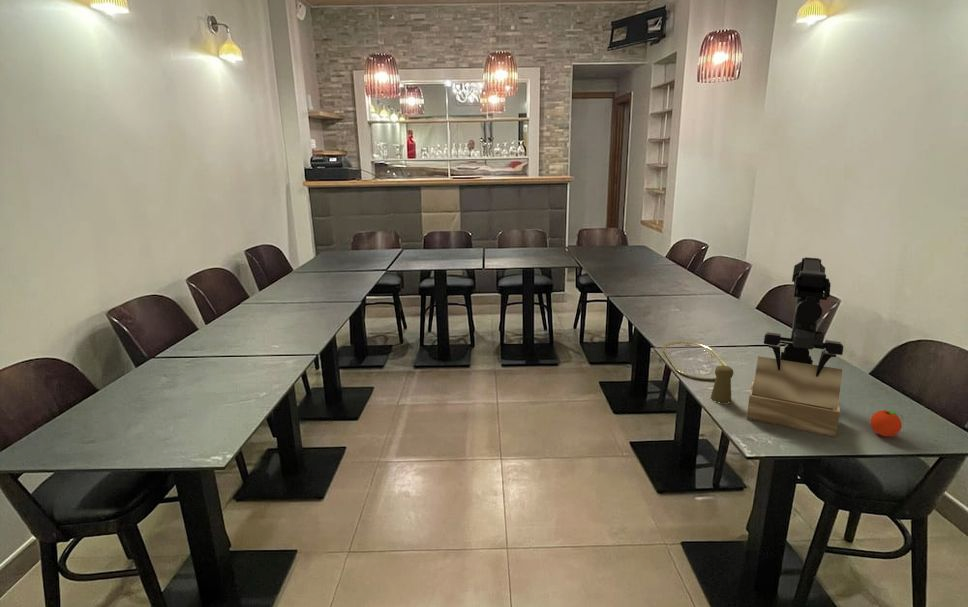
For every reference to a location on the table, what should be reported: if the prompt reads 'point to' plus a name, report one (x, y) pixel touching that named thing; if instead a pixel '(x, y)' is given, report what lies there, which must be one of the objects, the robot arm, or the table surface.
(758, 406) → the kraft carton
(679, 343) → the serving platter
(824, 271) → the robot arm
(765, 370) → the carton flap
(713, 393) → the cork
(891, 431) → the clementine
